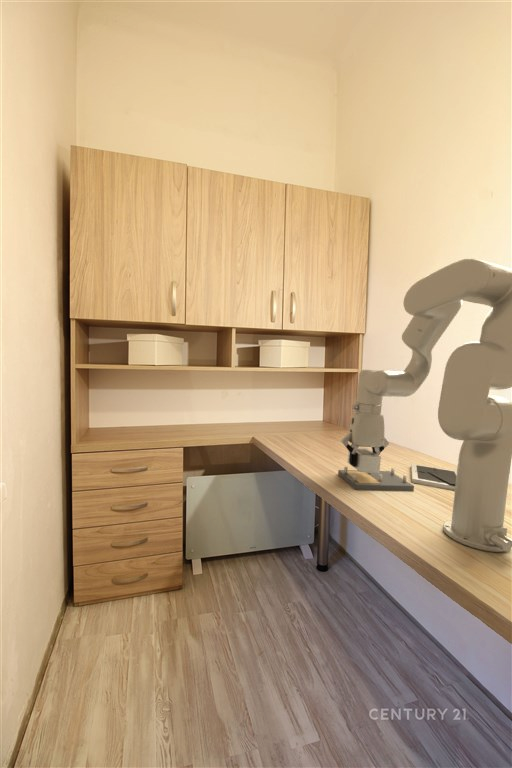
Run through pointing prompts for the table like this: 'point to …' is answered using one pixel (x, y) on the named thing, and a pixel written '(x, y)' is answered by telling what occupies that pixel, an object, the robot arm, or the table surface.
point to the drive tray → (375, 480)
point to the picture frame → (433, 476)
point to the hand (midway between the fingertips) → (362, 465)
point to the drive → (367, 461)
